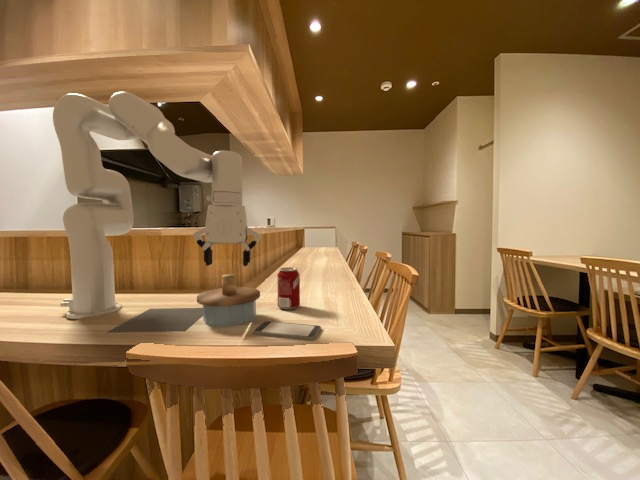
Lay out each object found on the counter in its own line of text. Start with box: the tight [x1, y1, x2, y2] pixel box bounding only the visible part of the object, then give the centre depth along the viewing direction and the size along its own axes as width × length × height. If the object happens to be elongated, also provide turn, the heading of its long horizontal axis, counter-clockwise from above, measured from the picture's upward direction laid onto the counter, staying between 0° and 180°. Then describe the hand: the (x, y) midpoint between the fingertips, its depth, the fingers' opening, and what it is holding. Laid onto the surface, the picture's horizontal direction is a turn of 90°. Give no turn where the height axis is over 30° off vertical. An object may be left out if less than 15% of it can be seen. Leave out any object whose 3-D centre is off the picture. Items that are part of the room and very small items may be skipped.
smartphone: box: [252, 320, 322, 342], centre depth 66 cm, size 7×1×15 cm
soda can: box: [276, 266, 301, 311], centre depth 85 cm, size 7×7×12 cm
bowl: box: [202, 300, 257, 328], centre depth 74 cm, size 13×13×6 cm
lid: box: [196, 273, 261, 306], centre depth 74 cm, size 16×16×6 cm
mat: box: [105, 307, 203, 334], centre depth 74 cm, size 18×18×1 cm
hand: (227, 265), depth 74 cm, fingers open, 9 cm apart
